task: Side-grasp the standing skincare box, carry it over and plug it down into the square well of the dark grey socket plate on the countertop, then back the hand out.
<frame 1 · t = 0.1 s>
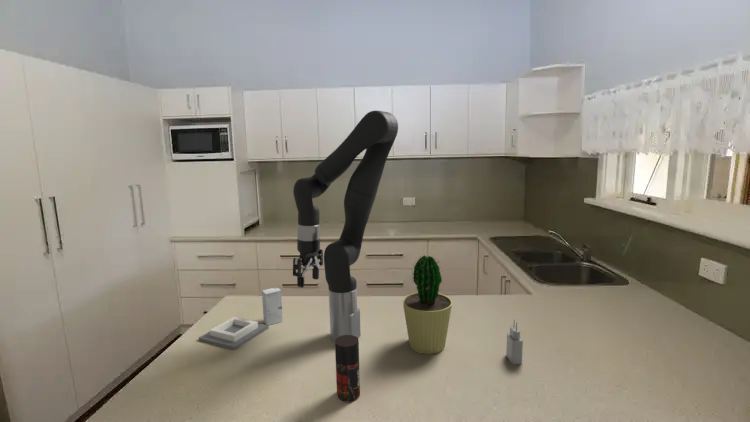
hand: (308, 282, 132), 17 cm above the countertop, tool pointing down, fingers open, 8 cm apart
skincare box: (273, 321, 142), on the countertop
socket plate: (234, 334, 133), on the countertop
potted cactus: (427, 345, 123), on the countertop
power adapter: (513, 359, 114), on the countertop
deodorant: (348, 395, 99), on the countertop
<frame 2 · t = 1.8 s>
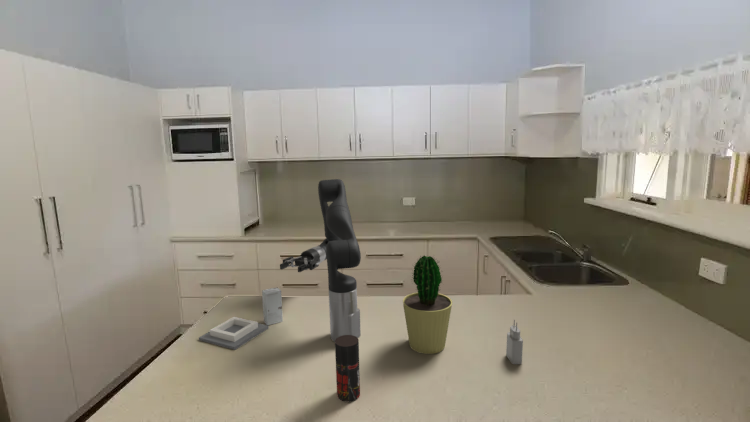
hand: (289, 268, 149), 17 cm above the countertop, tool horizontal, fingers open, 8 cm apart
nothing on the countertop moved.
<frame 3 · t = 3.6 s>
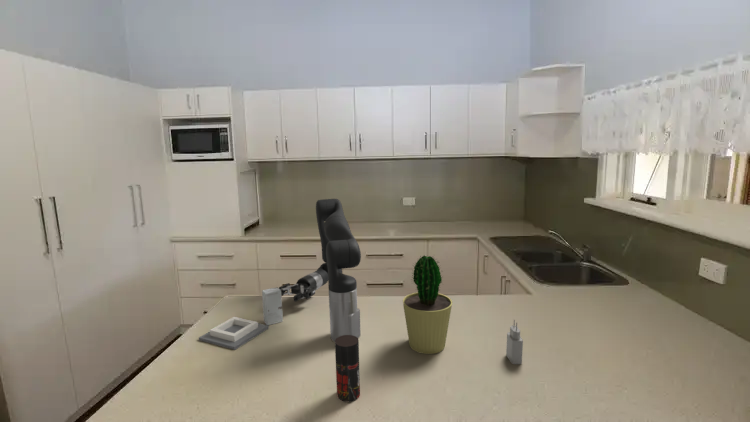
hand: (285, 297, 147), 6 cm above the countertop, tool horizontal, fingers open, 8 cm apart
nothing on the countertop moved.
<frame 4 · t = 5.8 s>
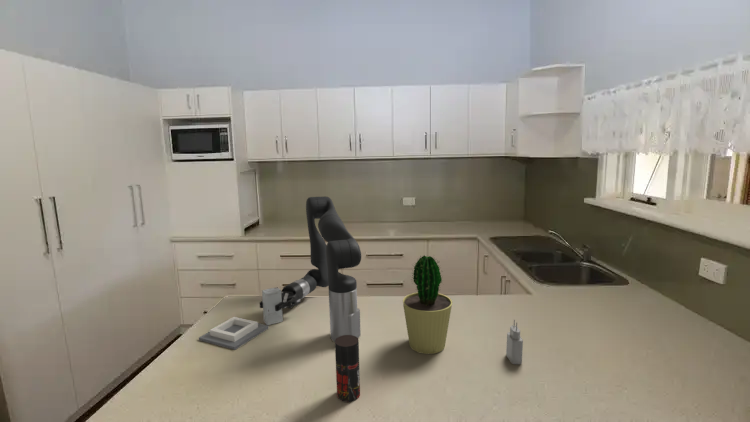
hand: (268, 307, 139), 7 cm above the countertop, tool horizontal, fingers closed on skincare box, 6 cm apart
skincare box: (273, 321, 142), on the countertop, touching gripper
everything else where it was.
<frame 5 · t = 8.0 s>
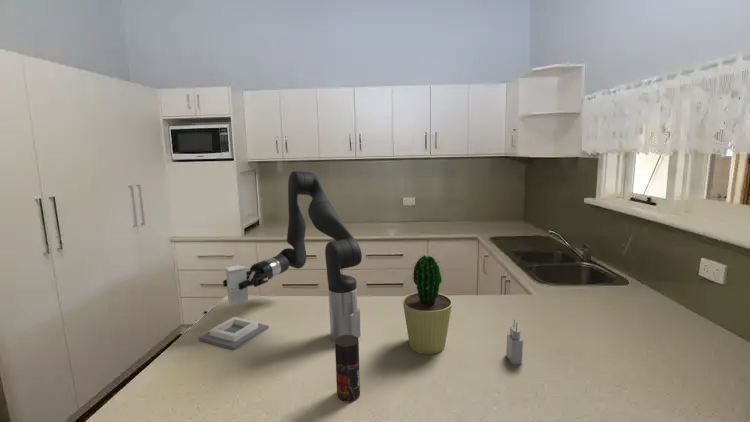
hand: (231, 285, 129), 18 cm above the countertop, tool horizontal, fingers closed on skincare box, 6 cm apart
skincare box: (238, 301, 133), point 11 cm above the countertop, touching gripper
everything else where it was.
when the fingers open (8 cm above the countertop, at t = 10.6 s): skincare box stays where it is, resting on socket plate.
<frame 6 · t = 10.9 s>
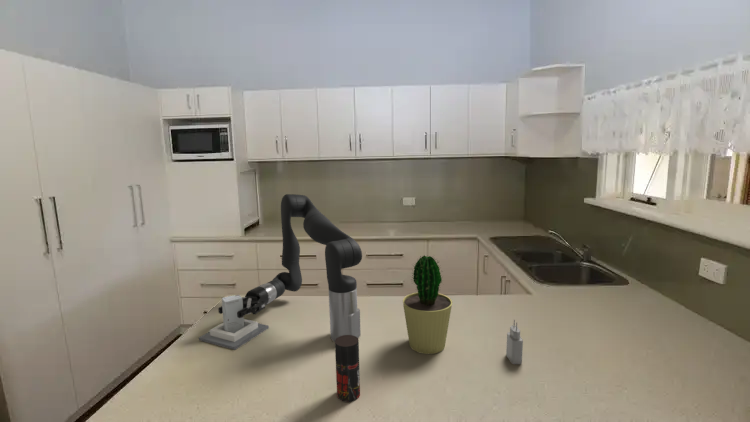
hand: (228, 313, 130), 8 cm above the countertop, tool horizontal, fingers open, 8 cm apart
skincare box: (234, 331, 133), point 1 cm above the countertop, touching socket plate
everything else where it was.
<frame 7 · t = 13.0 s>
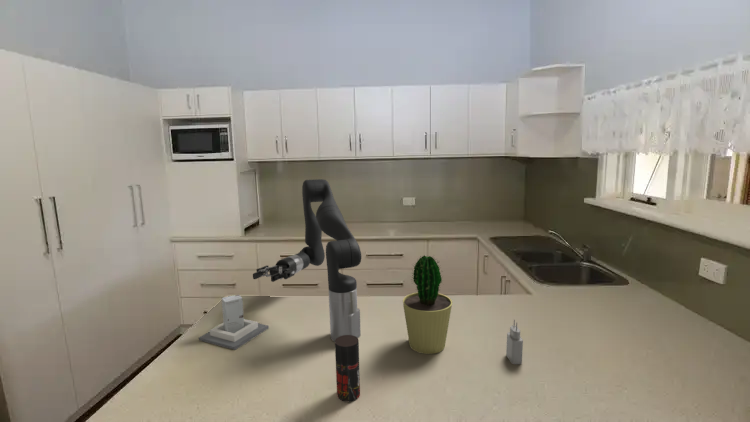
hand: (262, 277, 141), 16 cm above the countertop, tool horizontal, fingers open, 8 cm apart
nothing on the countertop moved.
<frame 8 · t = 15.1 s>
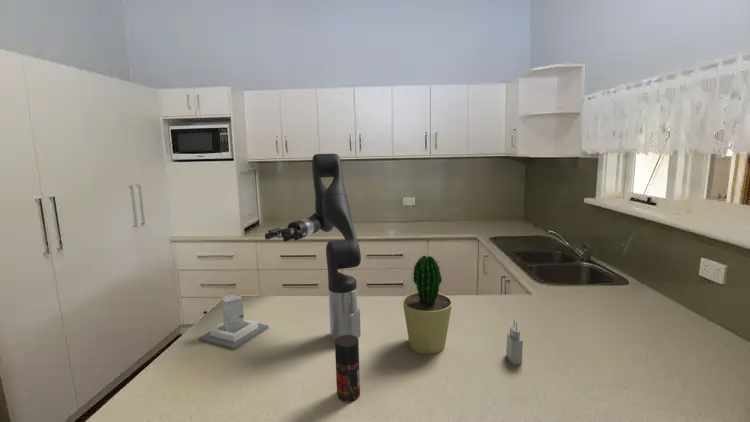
hand: (274, 237, 143), 30 cm above the countertop, tool horizontal, fingers open, 8 cm apart
nothing on the countertop moved.
at the end: skincare box inside the target area on the socket plate (0.2 cm from its centre), point 0.8 cm above the socket plate's base; skincare box tilted 0°; the gripper is holding nothing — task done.
